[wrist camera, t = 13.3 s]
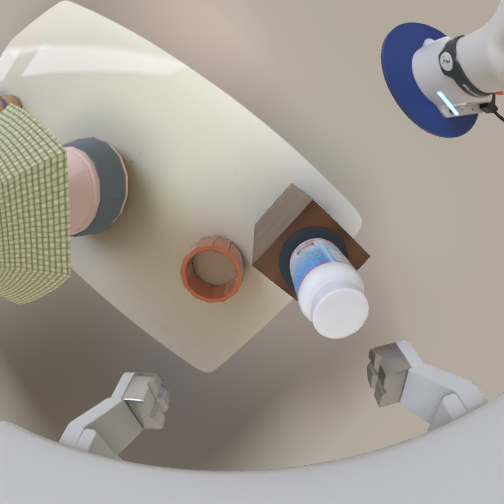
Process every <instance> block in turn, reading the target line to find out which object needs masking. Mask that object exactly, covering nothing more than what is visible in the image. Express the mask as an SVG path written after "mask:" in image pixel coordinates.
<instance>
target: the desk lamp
mask: <svg viewBox="0 0 504 504" xmlns="http://www.w3.org/2000/svg"><path fill="white" fill-rule="evenodd" d="M127 196H128V174H127V171H126V168H125V165H124V162H123V159H122V157H121V155H120V154H119V153H118V152H117V151H116V150H115V149H114V147H113V146H112V145H111V144H109V143H107V142H105V141H102V140H100V139H97V138H94V137H92V138H84V139H78V140H75V141H72V142H69V143H67V144H64V145H61V144H60V143H59V142H58V140H57V139H56V138H55V137H54V136H53V135H52V133H51V132H50V131H48V130H47V129H46V128H45V127H44V126H43V125H42V124H41V123H40V122H39V121H38V120H37V119H36V118H34V117H33V116H32V115H30V114H29V113H28V112H27V111H25V110H24V109H22V108H20V107H18V106H16V105H14V104H12V103H9V104H8V105H7V106H6V107H5V109H4V110H3V111H2V112H1V113H0V296H2V297H4V298H6V299H8V300H10V301H12V302H14V303H17V304H19V305H21V304H24V303H27V302H31V301H33V300H35V299H37V298H40V297H42V296H44V295H45V294H47V293H49V292H51V291H52V290H54V289H56V288H57V287H58V286H60V285H61V284H62V283H63V282H64V281H65V280H67V279H68V278H69V277H70V252H71V241H70V236H74V237H76V236H83V235H90V234H95V233H98V232H100V231H102V230H104V229H106V228H108V227H109V226H111V225H112V224H113V222H114V221H115V220H116V219H117V218H118V216H119V215H120V214H121V213H122V211H123V208H124V205H125V202H126V199H127Z"/></svg>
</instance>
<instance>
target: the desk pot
mask: <svg viewBox="0 0 504 504" xmlns="http://www.w3.org/2000/svg"><path fill="white" fill-rule="evenodd" d="M206 250H215V251H217V252H220V253H223V254H225V255H227V256H228V258H229V259H230V260H231V261H232V262H233V263H234V264H235V266H236V271H237V275H236V277H235V278H234V279H233V280H231V281H230V282H229V283H227V284H225V285H216V286H213V285H210V284H208V283H205V282H202V280H201V279H200V278H199V277H198V276H197V275H196V274H195V273H194V269H193V265H192V258H193V256H194V255H195V254H196V253H198V252H199V251H206ZM180 271H181V272H180V273H181V277H182V281H183V284H184V286H185V288H186V289H187V290H188V291H189V292H190V293H191V294H192V295H193V296H194V297H195V298H198V299H200V300H203V301H206V302H210V303H213V302H222V301H224V300H225V301H226V300H227V299H229V298H230V297H231V296H233V295H234V294H236V292H237V291H238V289H239V287H240V284H241V282H242V279H243V271H244V263H243V257H242V253H241V251H240V250H239V249H238V248H237V247H236V246H235V244H234V243H233V242H231V241H229V240H227V239H224V238H221V237H219V236H218V237H217V236H214V237H207V238H203V239H201V240H200V241H199V242H197V243H196V244H195V245H194V246H192V248H191V249H190V250H189V252H188V253H187V255H186V256H185V258H184V260H183V264H182V267H181V270H180Z"/></svg>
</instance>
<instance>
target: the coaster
mask: <svg viewBox="0 0 504 504" xmlns="http://www.w3.org/2000/svg"><path fill="white" fill-rule="evenodd" d="M314 238H321V239H325V240H328V241H330V242H332V243H333V244H334V245H335V246H336V247H337V248H338V249H339V250H340V251H341V253H342V254H343V255H344V256H345V257H346V258H347V260H348V253H347V249H346V247H345V244H344V243H343V241H342V240H341V239H340V238H339V237H338V236H337V235H336V234H335V233H334V232H332V231H330V230H328V229H325V228H320V227H311V228H306V229H303V230H300V231H298V232H297V233H295V234H294V235H292V236H291V237H290V238H289V239H288V240H287V241H286V243H285V244H284V246H283V248H282V250H281V253H280V257H279V267H280V272H281V275H282V277H283V279H284V281H285V282H286V283H287V284H288V285H289V286H290V287H291V288H292V289H294V290H295V287H294V284H293V280H292V276H291V272H290V259H291V256H292V254H293V252H294V250H295V249H296V248H297V247H298V246H299V245H300V244H301V243H303V242H305V241H307V240H310V239H314Z"/></svg>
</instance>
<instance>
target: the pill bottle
mask: <svg viewBox="0 0 504 504" xmlns="http://www.w3.org/2000/svg"><path fill="white" fill-rule="evenodd" d="M290 272H291V276H292V280H293V284H294V287H295V291H296V295H297V298H298V302H299V305H300V308H301V311H302V312H303V314H304V315H305V316H306V318H307V319H309V320H310V321H311V322H313V324H314V326H315V328H316V329H317V331H318V332H319V333H320V334H321V335H323V336H325V337H329V338H343V337H347V336H349V335H351V334H353V333H355V332H356V331H357V330H359V329H360V328H361V326H362V325H363V324H364V322H365V321H366V319H367V316H368V313H369V304H368V300H367V298H366V297H365V295H364V292H365V289H364V283H363V280H362V278H361V276H360V275H359V273H358V272H357V271H356V269H355V268H354V267H353V266H352V264H351V263H350V262H349V261H348V260H347V258H346V257H345V256H344V255H343V254H342V253H341V251H340V250H339V249H338V248H337V247H336V246H335V245H334V244H333V243H332V242H330V241H328V240H325V239H321V238H314V239H310V240H307V241H305V242H303V243H301V244H300V245H299V246H298V247H297V248H296V249H295V250H294V252H293V254H292V256H291V259H290Z"/></svg>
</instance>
